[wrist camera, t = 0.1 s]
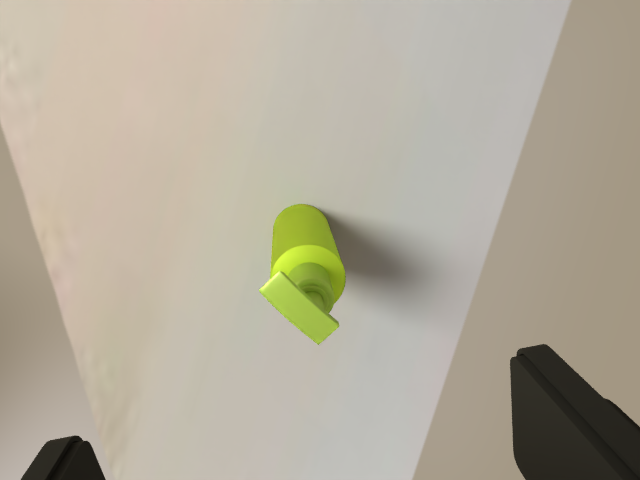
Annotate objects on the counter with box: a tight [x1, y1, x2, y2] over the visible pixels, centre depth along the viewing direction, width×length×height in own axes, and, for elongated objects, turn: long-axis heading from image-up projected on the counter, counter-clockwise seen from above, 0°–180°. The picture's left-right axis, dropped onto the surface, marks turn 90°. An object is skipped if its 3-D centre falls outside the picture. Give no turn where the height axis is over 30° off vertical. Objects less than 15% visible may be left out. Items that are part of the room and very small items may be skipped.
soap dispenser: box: [259, 204, 346, 345], centre depth 38 cm, size 6×7×20 cm
